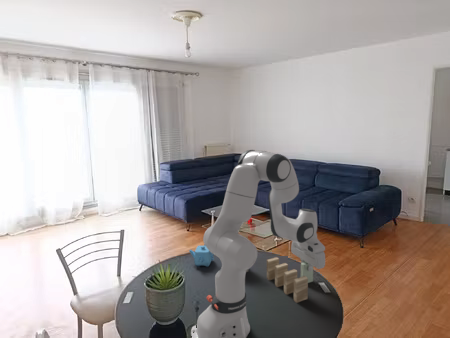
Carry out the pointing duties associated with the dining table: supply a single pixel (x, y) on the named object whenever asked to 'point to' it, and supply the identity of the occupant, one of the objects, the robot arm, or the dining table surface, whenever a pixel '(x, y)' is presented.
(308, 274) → the end domino
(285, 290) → the domino
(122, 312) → the dining table surface
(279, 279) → the domino
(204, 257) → the teapot
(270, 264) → the domino
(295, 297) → the domino
